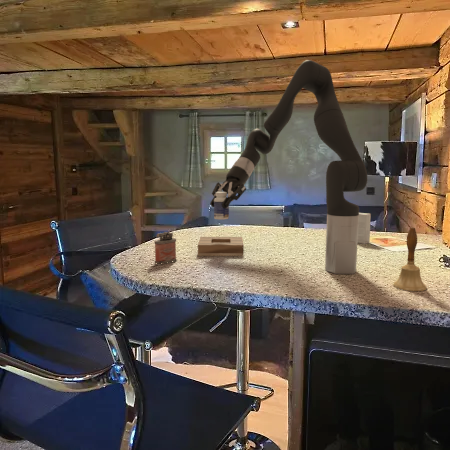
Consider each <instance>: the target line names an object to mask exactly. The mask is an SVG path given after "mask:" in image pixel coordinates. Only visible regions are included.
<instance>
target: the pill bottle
mask: <svg viewBox="0 0 450 450" xmlns="http://www.w3.org/2000/svg"><path fill="white" fill-rule="evenodd" d="M216 196H217V197H216V198H215V199H214V207H213V217H214V220H223V221H224V220H229V217H230V216H229V215H230V210H229V209H230V205H229V206H228V207H227V208H226V209H225V208H223V207H222V203H223V202H224V200H225V199H226V197H228V194H227V192H224V191H222V192H216Z"/></svg>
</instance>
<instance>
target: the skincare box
mask: <svg viewBox="0 0 450 450" xmlns="http://www.w3.org/2000/svg"><path fill="white" fill-rule="evenodd" d="M371 215H372V213H364V212H359V222H358V242H357V244H363V245H365V244H369V243H370V241H371Z"/></svg>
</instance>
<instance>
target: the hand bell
mask: <svg viewBox="0 0 450 450" xmlns="http://www.w3.org/2000/svg"><path fill="white" fill-rule="evenodd" d="M417 244H418V234H417V231H416V228H415V227H410V228H409V230H408V232H407V236H406V247H407V263H406V264H405V265H402V266H401V269H400V273H399V277H398V278H397V280H395V281H394V282H393V284H392V286H393V287H394V288H395V287H396V289H398V288H399V289H398V290H401V289H403V290H402V291H406V290H407V292H423V291H425V290H427V289H428V288H427V285H426V284H425V283H424V281H423V280H422V278H421V277H422V276H421V268H420V267H419V266H417V265H416V264H415V250H416V248H417Z"/></svg>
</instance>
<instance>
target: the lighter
mask: <svg viewBox="0 0 450 450" xmlns="http://www.w3.org/2000/svg"><path fill="white" fill-rule="evenodd" d="M173 236H174V232H167V231H163V232H162V233H161V232H160V233H157V234H156V238H157V240H154V253H155V254H154V255H155V256H154V257H155V258H154V259H155V260H154V264H155V263H157V264H161V263H167V262H172V261H175V262H177V252H176V251H177V250H176V249H177V247H176V246H177V245H176V242H177V238H175V237H174V238H173ZM172 263H173V262H172ZM157 264H156V265H157ZM167 264H168V263H167ZM161 265H162V264H161Z"/></svg>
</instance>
